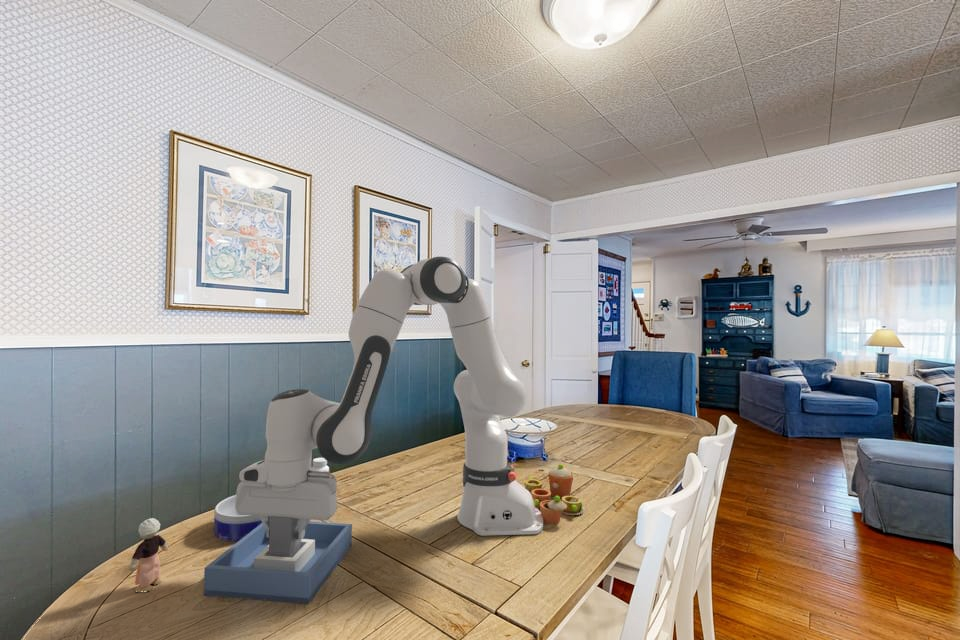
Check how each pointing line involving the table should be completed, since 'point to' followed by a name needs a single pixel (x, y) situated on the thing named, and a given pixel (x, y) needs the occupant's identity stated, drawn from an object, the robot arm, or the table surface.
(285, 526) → the connector plug
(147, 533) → the grandmother figurine
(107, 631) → the table surface
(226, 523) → the dog bowl
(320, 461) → the supplement bottle
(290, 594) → the walled tray
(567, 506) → the toy tea set
